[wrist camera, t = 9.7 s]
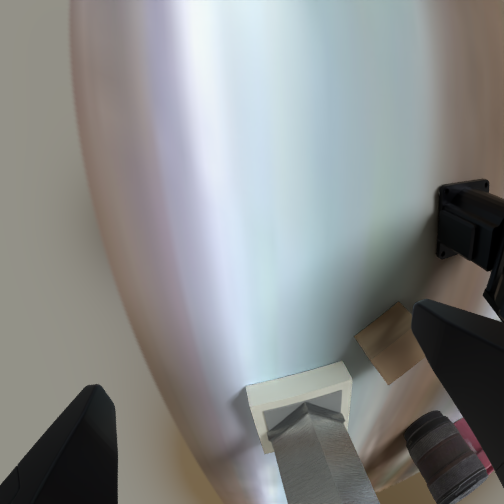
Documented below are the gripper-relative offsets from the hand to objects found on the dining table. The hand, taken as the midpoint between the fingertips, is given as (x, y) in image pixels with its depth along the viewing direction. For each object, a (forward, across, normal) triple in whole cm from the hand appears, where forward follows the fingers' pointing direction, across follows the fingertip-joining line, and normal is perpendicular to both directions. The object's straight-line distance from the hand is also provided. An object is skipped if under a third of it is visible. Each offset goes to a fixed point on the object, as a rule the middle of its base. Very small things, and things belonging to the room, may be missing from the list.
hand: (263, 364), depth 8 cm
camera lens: (+13, -21, +37) cm, 45 cm away
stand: (+13, -3, +20) cm, 24 cm away
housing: (+10, -3, +20) cm, 23 cm away
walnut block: (+13, -12, +14) cm, 23 cm away
